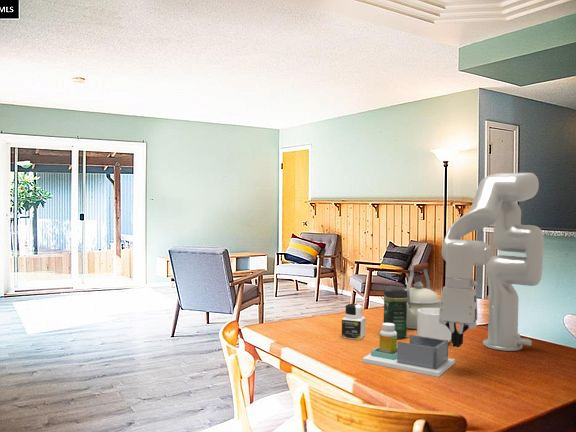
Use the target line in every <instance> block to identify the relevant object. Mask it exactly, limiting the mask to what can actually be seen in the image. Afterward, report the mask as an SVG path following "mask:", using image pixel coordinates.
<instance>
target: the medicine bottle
mask: <svg viewBox="0 0 576 432" xmlns="http://www.w3.org/2000/svg"><path fill="white" fill-rule="evenodd" d="M365 336H366V316H363V306H362V305H361V304H359V303H348V304H346V305H345V316H344V317H343V318H342V319H341V339H349V340H356V341H361V340H362V339H363V338H364V337H365Z"/></svg>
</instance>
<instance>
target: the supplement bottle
mask: <svg viewBox="0 0 576 432" xmlns="http://www.w3.org/2000/svg"><path fill="white" fill-rule="evenodd" d="M394 329H395V324H393V323H381V330H380V331H379V345H378V347H379V352H383V353H388V354H395V353H396V352H397V342H398V339H397V332H396V331H394Z"/></svg>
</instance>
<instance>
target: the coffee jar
mask: <svg viewBox="0 0 576 432" xmlns="http://www.w3.org/2000/svg"><path fill="white" fill-rule="evenodd" d="M383 289H384V290H383V323H393V324H395V329H394V331H396V332H397V340H401V339H405V338H407V333H408V331H407V329H408V328H407V291H406V290H404V288H402V287H399V286H398V285H387V286H386V287H385V288H383Z"/></svg>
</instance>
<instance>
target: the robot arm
mask: <svg viewBox="0 0 576 432" xmlns="http://www.w3.org/2000/svg"><path fill="white" fill-rule="evenodd" d="M539 186H540V184H539V178H538V176H537V175H536V174H535V173H533V172H499V173H491V174H489V175H487V176H486V177H484V178H483V179H481V180H480V182H479V184H478V187H477V190H476V193H475V196H474V197H473V200H472V203H471V206H470V209H469V211H468V212H466V213H465V214H463V215H462V216H460V217H459V218H457V219H456V220H455V221H454V222H453V223H451V225H450V226H449V228H448V229H447V231H446V234H445V236H444V239H443V242H442V246H441V257H442V259H443V260H444V261H445V285H444V286H443V287H442V291H441V296H440V299H441V301H440V311H439V317H440V320H439V323H440V324H442V325H445V326H447V327H448V329H449V330H450V332H451V340H450V341H451V344H452V347H453V348H455V347H456V348H460V347H461V346H462V345H464V333H465V332H466V331H467V330H471V329H472V330H473V329H476V328H478V325H477V320H478V301H477V300H478V299H477V292H476V289H475V288H473V287H478V281H475V280H474V275H473V273H474V272H473V270H474V266H477V267H478V266H479V267H481V266H484V265H486V274H487V281H488V317H487V318H488V321H487V322H488V325H487V331H488V332H487V338H485V339H484V340H483V341H482V343H483V345H484V347H487V348H489V349H493V350H498V351H504V352H505V351H507V352H513V351H514V352H516V351H521V350H522V349H523V345H524V346H528V347H531V346H532V340H531V339H529V338H525V337H524V338H522V337H521V333H519V331H518V330H519V302H520V301H519V295H518V292H517V290H516V289H515V286H513V285H517V286H519V285H520V286H526V287H527V286H528V287H529V286H530V287H534V286H538V285H539V284H540V282H541V280H542V275H543V259H544V247H545V246H544V241H545V240H544V239H545V238H544V234H543V231H542V229H541V228H540V227H539V226H537V225H533V224H522V221H521V220H522V209H521V208H520V205H519V204H518V202H525V201H527V200H530V199H533V198H534V197H535V196H536V195H537V193H538V191H539V188H540V187H539ZM493 224H494V225H493ZM492 225H493V237H492V238H493V247H494V248H495V249H496V250H497V251H500V252H501V251H502V252H508V253H523V254H525V256H516V255H507V254H506V255H501V254H498V255H493V256H492V249H491V247H490V245H489V244H488V243H487V242H485V241H483V240H473V239H472V240H471V239H470V240H469V239H462V238H464V237H465V236H466V235H468V234H470V233H472V232H475V231H478V230H481V229H484V228H487V227H490V226H492ZM457 324H459V325H458V329H457Z"/></svg>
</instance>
